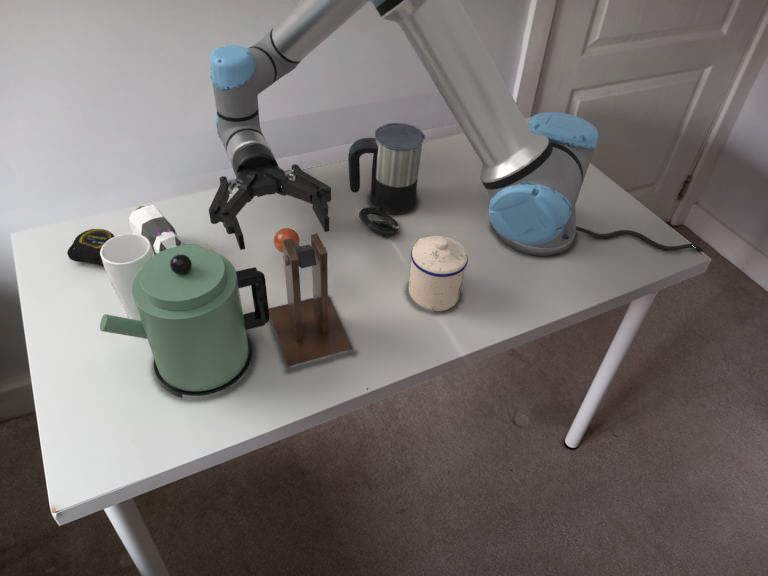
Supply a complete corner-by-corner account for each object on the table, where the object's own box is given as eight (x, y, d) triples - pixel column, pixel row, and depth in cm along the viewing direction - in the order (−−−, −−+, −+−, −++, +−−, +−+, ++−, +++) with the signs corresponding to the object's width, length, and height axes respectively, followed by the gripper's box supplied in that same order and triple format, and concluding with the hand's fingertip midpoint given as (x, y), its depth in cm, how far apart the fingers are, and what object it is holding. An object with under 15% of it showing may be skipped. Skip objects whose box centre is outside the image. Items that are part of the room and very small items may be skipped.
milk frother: (407, 184, 123) (413, 119, 113) (438, 230, 113) (448, 163, 102) (341, 195, 119) (341, 129, 108) (367, 245, 109) (370, 177, 98)
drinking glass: (131, 305, 95) (105, 232, 84) (175, 304, 96) (155, 232, 85) (121, 337, 90) (93, 264, 80) (167, 336, 91) (145, 264, 80)
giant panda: (133, 244, 105) (119, 201, 98) (163, 233, 108) (152, 190, 101) (168, 293, 97) (155, 249, 91) (200, 280, 100) (190, 236, 93)
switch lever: (274, 253, 94) (269, 228, 93) (298, 248, 96) (294, 223, 94) (295, 275, 80) (290, 247, 79) (324, 269, 82) (319, 241, 80)
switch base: (267, 313, 95) (257, 227, 83) (327, 299, 98) (326, 213, 86) (288, 370, 88) (280, 284, 75) (352, 352, 91) (354, 266, 78)
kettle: (261, 310, 96) (248, 208, 81) (284, 377, 87) (274, 275, 72) (118, 345, 89) (75, 240, 75) (127, 421, 80) (81, 319, 66)
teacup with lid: (469, 306, 99) (481, 254, 91) (419, 318, 96) (426, 265, 88) (439, 260, 107) (448, 208, 99) (392, 270, 104) (397, 217, 96)
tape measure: (69, 265, 101) (62, 248, 98) (92, 240, 105) (86, 223, 103) (106, 273, 100) (100, 256, 97) (128, 247, 105) (122, 231, 102)
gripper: (320, 167, 113) (359, 236, 99) (184, 191, 105) (207, 269, 91) (319, 132, 107) (361, 199, 94) (176, 154, 100) (199, 231, 86)
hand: (285, 233), depth 93 cm, fingers open, 13 cm apart
